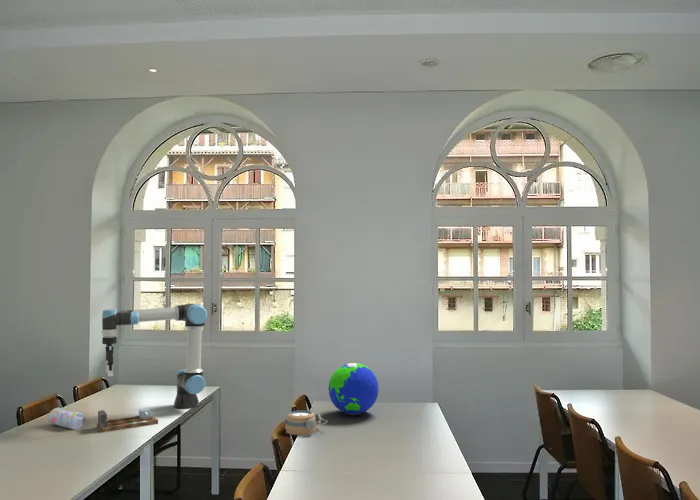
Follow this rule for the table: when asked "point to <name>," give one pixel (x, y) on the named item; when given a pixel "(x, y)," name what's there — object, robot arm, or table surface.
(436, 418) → the table surface
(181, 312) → the robot arm
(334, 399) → the globe
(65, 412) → the pencil case
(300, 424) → the alarm clock
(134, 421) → the board
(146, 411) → the blue grey block
